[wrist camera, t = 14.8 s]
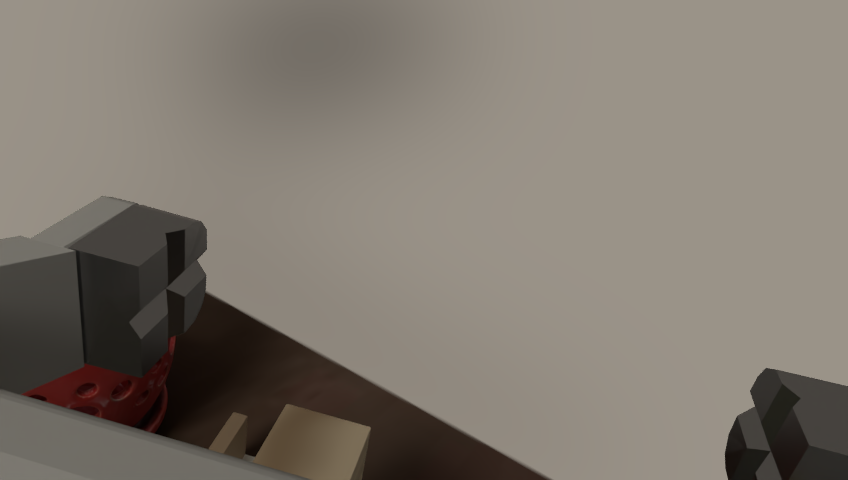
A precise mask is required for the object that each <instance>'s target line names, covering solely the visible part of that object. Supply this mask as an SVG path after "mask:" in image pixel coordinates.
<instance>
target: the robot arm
mask: <svg viewBox="0 0 848 480" xmlns="http://www.w3.org/2000/svg"><path fill="white" fill-rule="evenodd" d="M206 250H207V229H206V228H205V226H204V225H203V223H202V222H201V221H198V220H194V219H190V218H187V217H183V216H180V215H176V214H172V213H169V212H165V211H162V210H158V209H155V208H151V207H147V206H144V205H139V204H137V203H134V202H130V201H126V200H122V199H117V198H113V197H104V196H101V197H100V198H98V199H96V200H95V201H93V202H91V203H90V204H88V205H86V206H85V207H83V208H81V209H79V210H78V211H76V212H75V213H73V214H71V215H69V216H68V217H66V218H64V219H63V220H61V221H60V222H58V223H56V224H54V225H53V226H51V227H49V228H48V229H46V230H44V231H42V232H41V233H39V234H37V235H36V236H34V237H33V238H31V239H30V238H26V237H22V236H18V237H11V238H5V239H0V480H311V479H308V478H305V477H301V476H298V475H294V474H291V473H287V472H284V471H281V470H277V469H274V468H270V467H267V466H264V465H260V464H257V463H253V462H250V461H246V460H243V459H240V458H236V457H233V456H229V455H226V454H223V453H219V452H216V451H212V450H209V449H205V448H202V447H199V446H195V445H192V444H188V443H185V442H182V441H178V440H175V439H171V438H168V437H164V436H161V435H158V434H154V433H151V432H147V431H144V430H140V429H137V428H134V427H130V426H127V425H123V424H120V423H117V422H113V421H110V420H106V419H103V418H99V417H96V416H93V415H89V414H86V413H82V412H79V411H76V410H72V409H69V408H65V407H62V406H58V405H55V404H52V403H48V402H45V401H41V400H38V399H35V398H31V397H28V396H24V395H21V394H23V393H25V392H27V391H30V390H32V389H34V388H37V387H39V386H41V385H43V384H46V383H48V382H50V381H53V380H55V379H57V378H59V377H62V376H64V375H66V374H69V373H71V372H73V371H76V370H78V369H80V368H82V367H84V366H85V365H84V364H88V365H92V366H96V367H100V368H104V369H108V370H112V371H115V372H119V373H123V374H127V375H131V376H135V377H139V378H143V377H144V375H145V374H146V373H147V372H148V371H149V370H150V369H151V368H152V367H153V366H154V365H155V364H156V363H157V362H158V361H159V359H160V358H161V357H162V356H163V355H164V354H165V353H166V352H167V351H168V338H171V337H174V336H177V335H180V334H183V333H185V331H186V330H187V329H188V328H189V327H190V326H191V325H192V323H193V322H194V321H195V319H196V317H197V315H198V313H199V310H200V308H201V306H202V304H203V299H204V295H205V290H206V274H205V272H204V271H203V269H202V267H201V266H200V264H199V263H198V261H197V259H198V258H199V257H200V256H201V255H202V254H203V253H204V252H205V251H206ZM750 392H751V395H752V398H753V401H754V404H755V407H753V408H751V409H749V410H748V411H746V412H744V413H742V414H740V415H738V416H737V418H736V420H735V422H734V424H733V426H732V429H731V431H730V433H729V436H728V441H727V446H726V451H725V465H726V472H727V476H728V480H848V386H844V385H840V384H835V383H831V382H827V381H823V380H818V379H814V378H809V377H805V376H801V375H797V374H792V373H788V372H784V371H779V370H775V369H768V368H766V369H765V370H764V371H763V372H762V373H761V374H760V375H759V376H758V377H757V379H756V381H755V383H754V385H753V387H752V388H751V390H750Z"/></svg>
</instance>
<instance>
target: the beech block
mask: <svg viewBox="0 0 848 480" xmlns="http://www.w3.org/2000/svg"><path fill="white" fill-rule="evenodd" d="M370 430H371V427H368V426H364V425H360V424H357V423H353V422H350V421H346V420H343V419H339V418H335V417H332V416H328V415H325V414H321V413H318V412H314V411H311V410H307V409H303V408H300V407H296V406H293V405H289V404H286V406H285V408H284V409H283V411H282V413H281V414H280V416H279V418H278V420H277V421H276V423H275V425H274V426H273V428H272V430H271V431H270V433H269V435H268V437H267V438H266V440H265V442H264V443H263V445H262V447H261V448H260V450H259V452H258V454H257V455H256V457H255V459H254V460H253V463H257V464H260V465H264V466H267V467H270V468H274V469H277V470H281V471H284V472H287V473H291V474H294V475H298V476H301V477H305V478H308V479H311V480H362V475H363V469H364V464H365V458H366V453H367V447H368V441H369V436H370Z"/></svg>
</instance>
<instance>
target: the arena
mask: <svg viewBox="0 0 848 480" xmlns="http://www.w3.org/2000/svg"><path fill="white" fill-rule="evenodd" d="M247 418H248V416H245V415H242V414H238V413H235V412H233V414H232V415H231V417H230V418H229V420H228V421H227V422H226V424H225V425H224V427H223V428H222V430H221V431H220V433H219V434H218V436H217V437H216V439H215V440H214V441H213V443H212V444H211V446H210V447H209V450H212V451H216V452H219V453H223V454H226V455H229V456H233V457H236V458H240V459H243V460H246V461H250V462H253V460H254V459H255V457H253V456H249V455H246V454H245V449H246V434H247Z"/></svg>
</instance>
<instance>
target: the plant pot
mask: <svg viewBox="0 0 848 480" xmlns="http://www.w3.org/2000/svg"><path fill="white" fill-rule="evenodd" d="M175 343H176V336H174V337H171V338H168V351H167V352H166V353H165V354H164V355H163V356H162V357H161V358H160V359H159V361H158V362H157V363H156V364H155V365H154V366H153V367H152V368H151V369H150V370H149V371H148V372H147V373H146V374H145V375H144V377H143V378H139V377H135V376H131V375H127V374H123V373H119V372H115V371H112V370H108V369H104V368H100V367H96V366H92V365H88V364H84V365H85V366H84V367H82V368H80V369H78V370H76V371H73V372H71V373H69V374H66V375H64V376H62V377H59V378H57V379H55V380H53V381H50V382H48V383H46V384H43V385H41V386H39V387H37V388H34V389H32V390H30V391H27V392H25V393H23V394H21V395H24V396H28V397H31V398H35V399H38V400H41V401H45V402H48V403H52V404H55V405H58V406H62V407H65V408H69V409H72V410H76V411H79V412H82V413H86V414H89V415H93V416H96V417H99V418H103V419H106V420H110V421H113V422H117V423H120V424H123V425H127V426H130V427H134V428H137V429H140V430H144V431H147V432H151V433H154V434H155V432H156V431H157V429H158V428H159V426H160V425H161V423H162V421H163V419H164V416H165V413H166V409H167V403H168V393H167V388H166V385H165V382H166V380H167V377H168V374H169V371H170V368H171V364H172V361H173V356H174V351H175Z"/></svg>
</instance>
